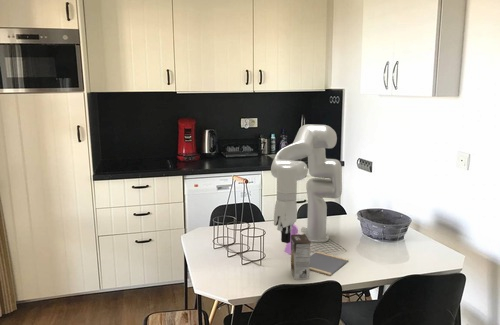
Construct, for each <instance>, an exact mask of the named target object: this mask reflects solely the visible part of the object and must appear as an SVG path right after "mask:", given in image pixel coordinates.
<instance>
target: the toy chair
mask: <svg viewBox="0 0 500 325" xmlns="http://www.w3.org/2000/svg"><path fill="white" fill-rule="evenodd" d="M290 233H291V235H296V234H299V235H301V233H299V228H298V226H297V225H296V224H295V223H294V225H293V226H292V230H291V232H290ZM285 244H286V245H285V248H284V250H283V251H284V252H285V253H286V254H288V255H289V256H291V238H290V242H289V243H285Z"/></svg>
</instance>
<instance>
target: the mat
mask: <svg viewBox="0 0 500 325" xmlns="http://www.w3.org/2000/svg"><path fill="white" fill-rule="evenodd" d="M347 263H349V259H347V258H344V257H340V256H336V255H332V254H328V253H324V252H321V251H317V250H316V251H315V253H313V254H312V255H311V254H310V267H309V272H315V273H317V274H320V275H325V276H327V277H331V276H333V275H334V274H335V273H336V272H338V271H339V270H340V269H341V268H342V267H344V266H345V265H346V264H347Z"/></svg>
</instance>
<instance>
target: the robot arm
mask: <svg viewBox="0 0 500 325" xmlns="http://www.w3.org/2000/svg"><path fill="white" fill-rule="evenodd" d="M337 140H338V137H337V133H336V131H335V129H333V128H332V127H331V126H329V125H326V124H314V123H313V124H304V125H301V126H300V128H299V129H298V131H297V133H296V135H295V138H294V140H293V142H292V143H290V144H288V145H287V146H285V147H283V148H281V149H280V150H278V151H277V152H276V154H275V156H274V158H273V160H272V163H271V167H270V173H271V175H272V176H273V178H274V179H276V200H275V204H274V212H273V225H274V227H275V226H276V227H277V228H276V230H277V231H280V234H281V235H280V236H281V238H280V241H281V243H284V244H286V243H289V242H290V238H291V233H290V232H291V230H292V226H293V225H294V224H295V223H297V220H298V205H297V193H298V192H297V191H298V190H297V187H298V185H297V184H298V182H297V181H302V180H304V179H305V178H306V176H308V174H309V176H310V177H311V178H310V179H308V180H307V181H306V184H305V185H306V186H305V187H306V195H307V221H306V222H307V223H306V224H307V228H306V227H303V226H301V228H300V232H301V233H304V235H306V236H307V238H308V240H309V241H310V243H314V244H315V243H319V244H320V243H326V242H328V241H329V240H330V236H329V235H328V234H327V219H328V218H327V214H328V213H327V212H328V211H327V209H328V206H327V203H326V201H325V199H340V198H341V196H342V193H343V192H342V191H343V174H342V173H343V169H342V162H340V160H338V159H336V158H327V156H326V149H333V148H334V147H335V146H336V145H337ZM305 158H307V164H306V162H304V161H302V160H301V159H305ZM324 198H325V199H324Z"/></svg>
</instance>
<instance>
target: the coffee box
mask: <svg viewBox="0 0 500 325" xmlns="http://www.w3.org/2000/svg"><path fill="white" fill-rule="evenodd" d="M299 234H300V233H297V234H296V235H291V255H290V272H291V274H292V276H293V279H294V280H309V279H310V270H309V267H310V256H311V242H310V241H309V240H308V238H307V236H306V235H305V234H300V235H299Z"/></svg>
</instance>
